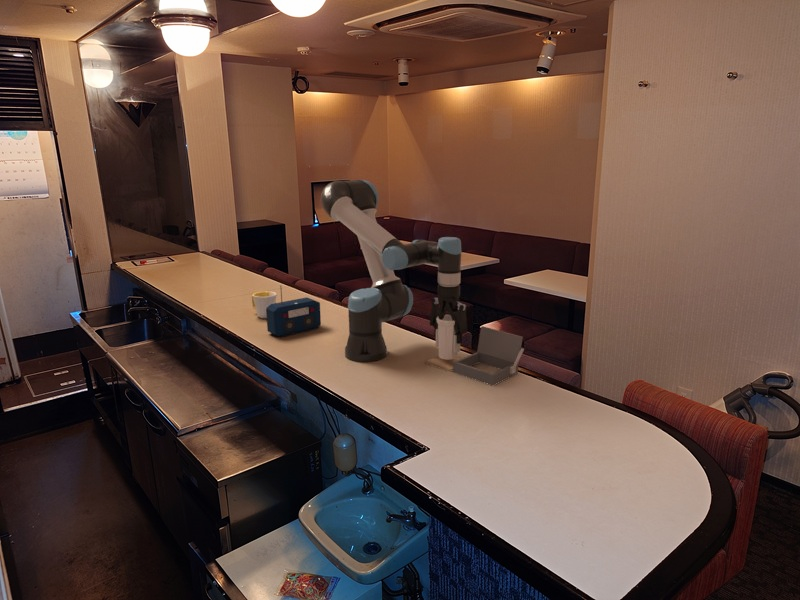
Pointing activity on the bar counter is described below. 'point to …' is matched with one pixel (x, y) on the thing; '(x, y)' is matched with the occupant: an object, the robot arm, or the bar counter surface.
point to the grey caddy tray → (492, 356)
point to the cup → (446, 337)
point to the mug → (263, 302)
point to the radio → (293, 316)
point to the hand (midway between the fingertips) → (447, 349)
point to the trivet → (442, 363)
